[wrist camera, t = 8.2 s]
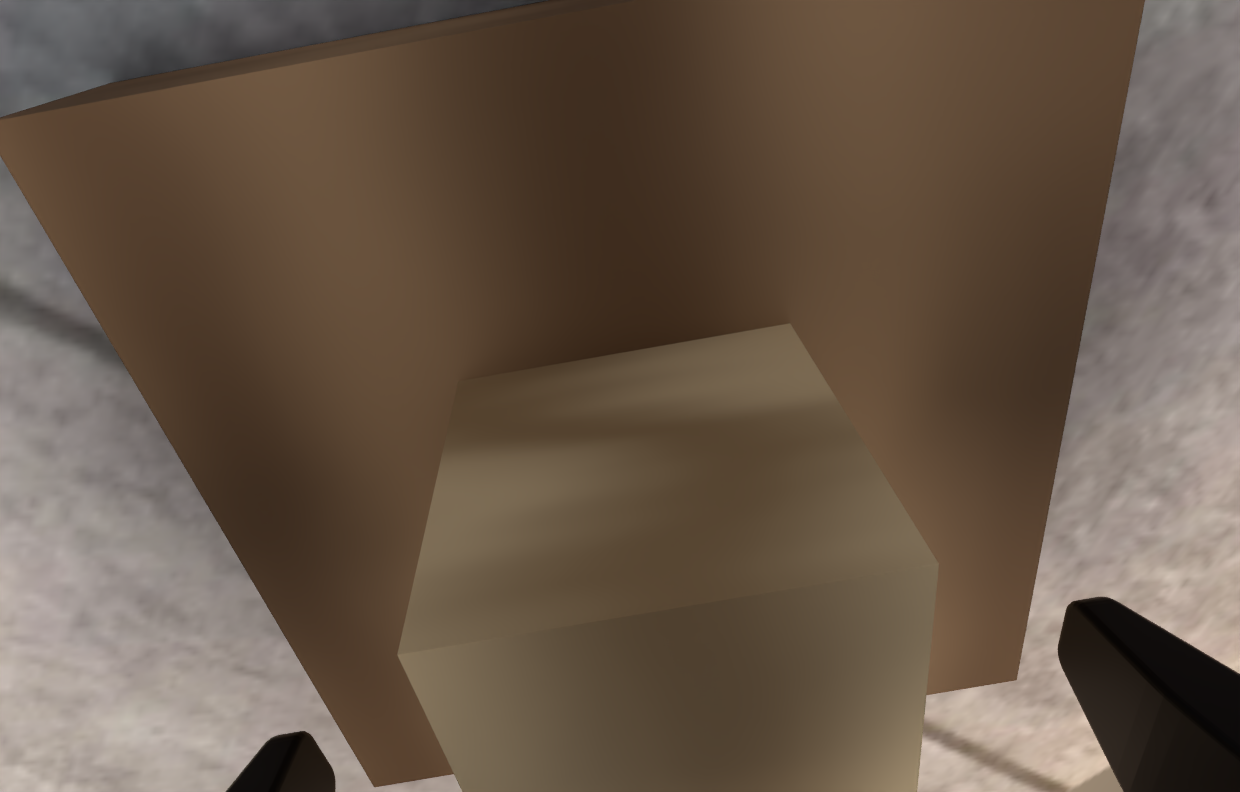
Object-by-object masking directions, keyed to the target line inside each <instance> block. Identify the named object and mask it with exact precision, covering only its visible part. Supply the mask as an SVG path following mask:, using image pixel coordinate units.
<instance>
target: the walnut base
mask: <svg viewBox="0 0 1240 792" xmlns="http://www.w3.org/2000/svg"><path fill="white" fill-rule="evenodd" d="M1144 2H1145V0H548V1H543V2H538V3H533V4H527V5H522V6H517V7H511V8H506V9H501V10H495V11H490V12H485V13H479V14H474V15H469V16H464V17H458V18H453V19H448V20H442V21H437V22H432V23H426V24H421V25H416V26H411V27H405V28H400V29H395V30H389V31H384V32H379V33H373V34H368V35H363V36H358V37H352V38H347V39H342V40H336V41H331V42H326V43H320V44H315V45H310V46H304V47H299V48H294V49H289V50H283V51H278V52H273V53H267V54H262V55H257V56H251V57H246V58H241V59H236V60H230V61H225V62H220V63H214V64H209V65H204V66H198V67H193V68H188V69H183V70H177V71H172V72H167V73H161V74H156V75H151V76H145V77H140V78H135V79H129V80H124V81H119V82H114V83H109V84H106V85H103V86H100V87H96V88H93V89H90V90H87V91H84V92H80V93H77V94H74V95H71V96H68V97H64V98H61V99H58V100H55V101H52V102H48V103H45V104H42V105H39V106H36V107H32V108H29V109H26V110H23V111H20V112H16V113H13V114H10V115H7V116H4V117H0V156H1V158H2V159H3V161H4V163H5V164H6V166H7V168H8V169H9V171H10V173H11V174H12V176H13V178H14V179H15V181H16V183H17V185H18V186H19V188H20V190H21V191H22V193H23V195H24V196H25V198H26V200H27V201H28V203H29V205H30V207H31V208H32V210H33V212H34V213H35V215H36V217H37V218H38V220H39V222H40V223H41V225H42V227H43V228H44V230H45V232H46V234H47V235H48V237H49V239H50V240H51V242H52V244H53V245H54V247H55V249H56V250H57V252H58V254H59V255H60V257H61V259H62V261H63V262H64V264H65V266H66V267H67V269H68V271H69V272H70V274H71V276H72V277H73V279H74V281H75V283H76V284H77V286H78V288H79V289H80V291H81V293H82V294H83V296H84V298H85V299H86V301H87V303H88V304H89V306H90V308H91V310H92V311H93V313H94V315H95V316H96V318H97V320H98V321H99V323H100V325H101V326H102V328H103V330H104V332H105V333H106V335H107V337H108V338H109V340H110V342H111V343H112V345H113V347H114V348H115V350H116V352H117V353H118V355H119V357H120V359H121V360H122V362H123V364H124V365H125V367H126V369H127V370H128V372H129V374H130V375H131V377H132V379H133V380H134V382H135V384H136V386H137V387H138V389H139V391H140V392H141V394H142V396H143V397H144V399H145V401H146V402H147V404H148V406H149V408H150V409H151V411H152V413H153V414H154V416H155V418H156V419H157V421H158V423H159V424H160V426H161V428H162V429H163V431H164V433H165V435H166V436H167V438H168V440H169V441H170V443H171V445H172V446H173V448H174V450H175V451H176V453H177V455H178V457H179V458H180V460H181V462H182V463H183V465H184V467H185V468H186V470H187V472H188V473H189V475H190V477H191V478H192V480H193V482H194V484H195V485H196V487H197V489H198V490H199V492H200V494H201V495H202V497H203V499H204V500H205V502H206V504H207V505H208V507H209V509H210V511H211V512H212V514H213V516H214V517H215V519H216V521H217V522H218V524H219V526H220V527H221V529H222V531H223V533H224V534H225V536H226V538H227V539H228V541H229V543H230V544H231V546H232V548H233V549H234V551H235V553H236V554H237V556H238V558H239V560H240V561H241V563H242V565H243V566H244V568H245V570H246V571H247V573H248V575H249V576H250V578H251V580H252V581H253V583H254V585H255V587H256V588H257V590H258V592H259V593H260V595H261V597H262V598H263V600H264V602H265V603H266V605H267V607H268V609H269V610H270V612H271V614H272V615H273V617H274V619H275V620H276V622H277V624H278V625H279V627H280V629H281V630H282V632H283V634H284V636H285V637H286V639H287V641H288V642H289V644H290V646H291V647H292V649H293V651H294V652H295V654H296V656H297V658H298V659H299V661H300V663H301V664H302V666H303V668H304V669H305V671H306V673H307V674H308V676H309V678H310V679H311V681H312V683H313V685H314V686H315V688H316V690H317V691H318V693H319V695H320V696H321V698H322V700H323V701H324V703H325V705H326V706H327V708H328V710H329V712H330V713H331V715H332V717H333V718H334V720H335V722H336V723H337V725H338V727H339V728H340V730H341V732H342V734H343V735H344V737H345V739H346V740H347V742H348V744H349V745H350V747H351V749H352V750H353V752H354V754H355V755H356V757H357V759H358V761H359V762H360V764H361V766H362V767H363V769H364V771H365V772H366V774H367V776H368V777H369V779H370V781H371V783H372V784H373V786H374V787H379V786H385V785H391V784H397V783H403V782H409V781H415V780H421V779H427V778H433V777H439V776H445V775H451V774H454V773H453V771H452V769H451V766H450V764H449V762H448V760H447V758H446V756H445V754H444V752H443V750H442V748H441V746H440V743H439V741H438V739H437V737H436V735H435V733H434V731H433V729H432V727H431V725H430V722H429V720H428V718H427V716H426V714H425V712H424V710H423V708H422V706H421V704H420V701H419V699H418V697H417V695H416V693H415V691H414V689H413V687H412V685H411V683H410V681H409V678H408V676H407V674H406V672H405V670H404V668H403V666H402V664H401V662H400V660H399V657H398V655H397V654H398V649H399V645H400V640H401V636H402V631H403V627H404V623H405V618H406V614H407V609H408V605H409V600H410V596H411V591H412V587H413V582H414V578H415V573H416V569H417V564H418V560H419V555H420V551H421V546H422V542H423V537H424V533H425V528H426V524H427V519H428V515H429V510H430V506H431V501H432V497H433V492H434V488H435V484H436V479H437V475H438V470H439V466H440V461H441V457H442V452H443V448H444V443H445V439H446V434H447V430H448V425H449V421H450V416H451V412H452V407H453V403H454V398H455V394H456V389H457V385H458V381H463V380H469V379H475V378H480V377H486V376H492V375H497V374H503V373H509V372H515V371H520V370H526V369H532V368H537V367H543V366H549V365H555V364H560V363H566V362H572V361H577V360H583V359H589V358H595V357H600V356H606V355H612V354H618V353H623V352H629V351H635V350H640V349H646V348H652V347H658V346H663V345H669V344H675V343H680V342H686V341H692V340H698V339H703V338H709V337H715V336H720V335H726V334H732V333H738V332H743V331H749V330H755V329H761V328H766V327H772V326H778V325H783V324H789V323H790V324H791V325H792V327H793V329H794V330H795V332H796V334H797V335H798V337H799V338H800V340H801V342H802V343H803V345H804V346H805V348H806V350H807V351H808V353H809V355H810V356H811V358H812V359H813V361H814V363H815V364H816V366H817V368H818V369H819V371H820V372H821V374H822V376H823V377H824V379H825V380H826V382H827V384H828V385H829V387H830V389H831V390H832V392H833V393H834V395H835V397H836V398H837V400H838V402H839V403H840V405H841V406H842V408H843V410H844V411H845V413H846V414H847V416H848V418H849V419H850V421H851V423H852V424H853V426H854V427H855V429H856V431H857V432H858V434H859V435H860V437H861V439H862V440H863V442H864V444H865V445H866V447H867V448H868V450H869V452H870V453H871V455H872V457H873V458H874V460H875V461H876V463H877V465H878V466H879V468H880V469H881V471H882V473H883V474H884V476H885V478H886V479H887V481H888V482H889V484H890V486H891V487H892V489H893V490H894V492H895V494H896V495H897V497H898V499H899V500H900V502H901V503H902V505H903V507H904V508H905V510H906V512H907V513H908V515H909V516H910V518H911V520H912V521H913V523H914V524H915V526H916V528H917V529H918V531H919V533H920V534H921V536H922V537H923V539H924V541H925V542H926V544H927V545H928V547H929V549H930V550H931V552H932V554H933V555H934V557H935V558H936V560H937V562H938V563H939V568H938V578H937V589H936V599H935V610H934V620H933V630H932V641H931V651H930V662H929V672H928V682H927V693H926V695H930V694H936V693H942V692H948V691H954V690H960V689H966V688H972V687H978V686H984V685H990V684H996V683H1002V682H1008V681H1014V680H1017V674H1018V669H1019V664H1020V659H1021V653H1022V648H1023V643H1024V637H1025V632H1026V627H1027V621H1028V616H1029V611H1030V606H1031V600H1032V595H1033V590H1034V584H1035V579H1036V574H1037V569H1038V563H1039V558H1040V553H1041V547H1042V542H1043V537H1044V531H1045V526H1046V521H1047V516H1048V510H1049V505H1050V500H1051V494H1052V489H1053V484H1054V479H1055V473H1056V468H1057V463H1058V457H1059V452H1060V447H1061V441H1062V436H1063V431H1064V426H1065V420H1066V415H1067V410H1068V404H1069V399H1070V394H1071V388H1072V383H1073V378H1074V373H1075V367H1076V362H1077V357H1078V351H1079V346H1080V341H1081V336H1082V330H1083V325H1084V320H1085V314H1086V309H1087V304H1088V298H1089V293H1090V288H1091V283H1092V277H1093V272H1094V267H1095V261H1096V256H1097V251H1098V245H1099V240H1100V235H1101V230H1102V224H1103V219H1104V214H1105V208H1106V203H1107V198H1108V193H1109V187H1110V182H1111V177H1112V171H1113V166H1114V161H1115V155H1116V150H1117V145H1118V140H1119V134H1120V129H1121V124H1122V118H1123V113H1124V108H1125V102H1126V97H1127V92H1128V87H1129V81H1130V76H1131V71H1132V65H1133V60H1134V55H1135V50H1136V44H1137V39H1138V34H1139V28H1140V23H1141V18H1142V12H1143V7H1144Z"/></svg>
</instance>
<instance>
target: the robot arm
mask: <svg viewBox="0 0 1240 792" xmlns="http://www.w3.org/2000/svg"><path fill="white" fill-rule="evenodd" d="M1058 656H1059V661H1060V664H1061V666H1062V669H1063V671H1064V673H1065V675H1066V677H1067V679H1068V681H1069V683H1070V685H1071V687H1072V689H1073V691H1074V693H1075V695H1076V697H1077V699H1078V701H1079V703H1080V705H1081V707H1082V709H1083V711H1084V714H1085V716H1086V718H1087V720H1088V722H1089V724H1090V726H1091V728H1092V730H1093V732H1094V734H1095V736H1096V738H1097V740H1098V742H1099V744H1100V746H1101V748H1102V750H1103V752H1104V754H1105V756H1106V758H1107V760H1108V762H1109V764H1110V766H1111V768H1112V770H1113V772H1114V774H1115V776H1116V778H1117V780H1118V782H1119V784H1120V786H1121V788H1122V789H1123V792H1240V674H1239V673H1237V672H1236V671H1234V670H1232V669H1231V668H1229V667H1227V666H1225V665H1224V664H1222V663H1220V662H1219V661H1217V660H1215V659H1214V658H1212V657H1210V656H1209V655H1207V654H1205V653H1204V652H1202V651H1200V650H1198V649H1197V648H1195V647H1193V646H1192V645H1190V644H1188V643H1187V642H1185V641H1183V640H1182V639H1180V638H1178V637H1176V636H1175V635H1173V634H1171V633H1170V632H1168V631H1166V630H1165V629H1163V628H1161V627H1160V626H1158V625H1156V624H1155V623H1153V622H1151V621H1149V620H1148V619H1146V618H1144V617H1143V616H1141V615H1139V614H1138V613H1136V612H1134V611H1133V610H1131V609H1129V608H1128V607H1126V606H1124V605H1122V604H1121V603H1119V602H1117V601H1115V600H1113V599H1111V598H1108V597H1095V598H1089V599H1083V600H1077V601H1073V602H1071V603H1070V604H1069V605H1068V606H1067V609H1066V613H1065V617H1064V622H1063V626H1062V630H1061V635H1060V639H1059V644H1058ZM226 792H335V776H334V772H333V769H332V767H331V765H330V764H329V762H328V761H327V759H326V757H325V756H324V754H323V753H322V751H321V750H320V748H319V746H318V745H317V743H316V742H315V740H314V738H313V737H312V736H311V735H310V734H309V733H307V732H305V731H300V732H294V733H288V734H282V735H278V736H275V737H273V738H271V739H270V740H269V741H267V742H266V743H265V744H264V745H263V747H262V748H261V749H260V750H259V752H258V753H257V754H256V755H255V756H254V758H253V759H252V760H251V761H250V763H249V764H248V765H247V766H246V767H245V769H244V770H243V771H242V772H241V774H240V775H239V776H238V777H237V778H236V780H235V781H234V782H233V783H232V785H231V786H230V787H229V788H228V790H227V791H226Z"/></svg>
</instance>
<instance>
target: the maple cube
mask: <svg viewBox="0 0 1240 792" xmlns="http://www.w3.org/2000/svg"><path fill="white" fill-rule="evenodd" d="M938 568H939V563H938V562H937V560H936V558H935V557H934V555H933V554H932V552H931V550H930V549H929V547H928V545H927V544H926V542H925V541H924V539H923V537H922V536H921V534H920V533H919V531H918V529H917V528H916V526H915V524H914V523H913V521H912V520H911V518H910V516H909V515H908V513H907V512H906V510H905V508H904V507H903V505H902V503H901V502H900V500H899V499H898V497H897V495H896V494H895V492H894V490H893V489H892V487H891V486H890V484H889V482H888V481H887V479H886V478H885V476H884V474H883V473H882V471H881V469H880V468H879V466H878V465H877V463H876V461H875V460H874V458H873V457H872V455H871V453H870V452H869V450H868V448H867V447H866V445H865V444H864V442H863V440H862V439H861V437H860V435H859V434H858V432H857V431H856V429H855V427H854V426H853V424H852V423H851V421H850V419H849V418H848V416H847V414H846V413H845V411H844V410H843V408H842V406H841V405H840V403H839V402H838V400H837V398H836V397H835V395H834V393H833V392H832V390H831V389H830V387H829V385H828V384H827V382H826V380H825V379H824V377H823V376H822V374H821V372H820V371H819V369H818V368H817V366H816V364H815V363H814V361H813V359H812V358H811V356H810V355H809V353H808V351H807V350H806V348H805V346H804V345H803V343H802V342H801V340H800V338H799V337H798V335H797V334H796V332H795V330H794V329H793V327H792V325H791V324H790V323H789V324H783V325H778V326H772V327H766V328H761V329H755V330H749V331H743V332H738V333H732V334H726V335H720V336H715V337H709V338H703V339H698V340H692V341H686V342H680V343H675V344H669V345H663V346H658V347H652V348H646V349H640V350H635V351H629V352H623V353H618V354H612V355H606V356H600V357H595V358H589V359H583V360H577V361H572V362H566V363H560V364H555V365H549V366H543V367H537V368H532V369H526V370H520V371H515V372H509V373H503V374H497V375H492V376H486V377H480V378H475V379H469V380H463V381H458V385H457V389H456V394H455V398H454V403H453V407H452V412H451V416H450V421H449V425H448V430H447V434H446V439H445V443H444V448H443V452H442V457H441V461H440V466H439V470H438V475H437V479H436V484H435V488H434V492H433V497H432V501H431V506H430V510H429V515H428V519H427V524H426V528H425V533H424V537H423V542H422V546H421V551H420V555H419V560H418V564H417V569H416V573H415V578H414V582H413V587H412V591H411V596H410V600H409V605H408V609H407V614H406V618H405V623H404V627H403V631H402V636H401V640H400V645H399V649H398V654H397V655H398V657H399V660H400V662H401V664H402V666H403V668H404V670H405V672H406V674H407V676H408V678H409V681H410V683H411V685H412V687H413V689H414V691H415V693H416V695H417V697H418V699H419V701H420V704H421V706H422V708H423V710H424V712H425V714H426V716H427V718H428V720H429V722H430V725H431V727H432V729H433V731H434V733H435V735H436V737H437V739H438V741H439V743H440V746H441V748H442V750H443V752H444V754H445V756H446V758H447V760H448V762H449V764H450V766H451V769H452V771H453V773H454V775H455V777H456V779H457V781H458V783H459V785H460V787H461V790H462V792H917V786H918V776H919V766H920V755H921V745H922V734H923V724H924V714H925V703H926V693H927V682H928V672H929V662H930V651H931V641H932V630H933V620H934V610H935V599H936V589H937V578H938Z"/></svg>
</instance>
